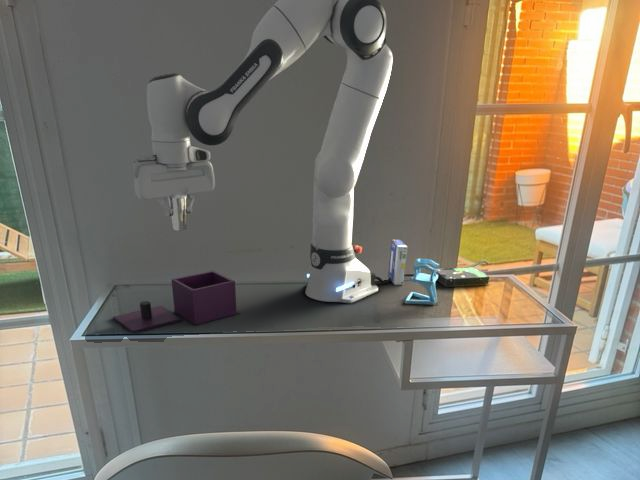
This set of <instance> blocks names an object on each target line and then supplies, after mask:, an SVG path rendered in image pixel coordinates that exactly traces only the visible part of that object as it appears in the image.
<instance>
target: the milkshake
mask: <svg viewBox="0 0 640 480" xmlns="http://www.w3.org/2000/svg"><path fill="white" fill-rule="evenodd" d="M188 189H189V188H188ZM187 192H188V190H187ZM187 199H188V198H187V193H186V195H185V194H181V193H180V194H176V195H175V196H172V197H167V200H168V207H170V208H172V209H173V216H170V217H171V222H172V228H173V231H179V232H182V231H186V230H187V213H186V206H187Z"/></svg>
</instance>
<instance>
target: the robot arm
mask: <svg viewBox="0 0 640 480" xmlns="http://www.w3.org/2000/svg"><path fill="white" fill-rule="evenodd" d="M386 32H387V13H386V11H385V8H384V6H383V4H382V2H381V1H380V0H277V1H276V2H275V3H274V4H273V5H272V6H271V7H270V9H269V10H268V11H267V12H266V13H265V14H264V15H263V16H262V18H261V20H260V21H259V23H258V24H257V25H256V27H255V29H254V30H253V32H252V36H251V41H250V46H249V50H248V51H247V53H246V55H245V57H244V58H243V60H242V61H241V62H240V63H239V65H237V67H236V68H235V69H234V70H233V71H232V72H231V73H230V74H229V76H228V77H226V79H225V80H223V82H222V83H221V84H220V85H219V86H218V87H216V88H215V89H213V90H211V91H210V90H207V89H204V88H201V87H200V86H197V85H195V84H193V83H192V82H190V81H189V80H187V79H186V78H184V77H183V76H182V75H181V74H180V73H177V72H176V73H175V72H174V73H166V74H165V73H164V74H160V75H157V76H154V77H153V78H151V79H150V80H149V82H148V83H147V85H146V86H147V87H146V106H147V107H146V108H147V115H148V121H149V123H150V127H151V135H150V136H151V137H150V140H151V148H152V155H146V156H144V155H142V156H141V155H140V156H137V157H136V158H135V159H134V160H133V161H132V163H131V168H132V169H131V170H132V174H133V187H134V188H133V189H134V195H135V196H136V197H137V198H138V199H139V200H142V201H149V200H155V199H157V201H158V203H159V204H160V206H161V207H162V208H163V213H164V216H165V217H171V216H173V209H172V208H170V206H169V204H168V202H169V200H168V197H172V196H175V195H176V194H180V193H181V194H185V195H186V193H187V206H186V214H192V213H193V205H194V202H195V199H196V194H201V193H209V192H213V191H214V189H215V187H216V180H215V172H214V167H213V165H212V162H210V160H211V152H210V151H209V150H207V149H203V148H200V147H197V146H196V145H192V144H191V136H192V137H193V138H194V139H195V140H196V141H198V142H199V143H201V144H202V145H206V146H217V145H220V144H224V142H226V141H227V140H228V138H229V137H230V136H231V134H232V132H233V130H234V128H235V125H236V122H237V119H238V116H239V115H240V113H241V112H242V110H243V109H244V108H245V107H246V106H247V104H249V102H251V101H252V100H253V98H254V97H256V95H257V94H258V93H259V92H260V91H261V89H262V88H263V87H264V86H265V85H266V84H267V83H268V82H269V81H270V80H272V79H273V78H274V77H276V76H277V75H279V74H280V73H282V72H283V71H285V70H286V69H287V68H289V67H291V66H292V65H293V64H294V63H295V62H296V61H297V60H299V58H301V57H302V56H303V54H305V53H306V51H308V49H309V48H310V47H312V45H313V44H314V43H315V42H316V41H317V40H319V39H321V38H322V37H323V38H324V39H325V40H326V41H327V42H329V43H330V44H333V45H335V46H337V47H338V48H341V49H343V50H345V52H346V66H345V71H344V74H343V76H342V79H341V83H340V85H339V88H338V92H337V94H336V98H335V101H334V104H333V107H332V110H331V113H330V117H329V120H328V123H327V127H326V131H325V135H324V137H323V141H322V144H321V148H320V151H319V152H318V154H317V155H316V157H315V160H314V162H313V163H314V164H313V194H312V195H313V196H312V197H313V200H312V230H311V231H312V232H311V233H312V234H311V235H312V238H311V240H312V241H311V244H310V248H309V249H310V250H309V258H310V266H309V273H307V274H306V277H307V278H308V280H307V285H306V288H305V291H304V294H305V295H306V296H307V297H308V298H310V299H313V300H316V301H321V302H328V303H344V304H352V303H355V302H357V301H359V300H362V299H363V298H366V297H367V296H370V295H372V294H375V293H377V292H378V291H379V287H378V285H376V280H378V282H380V284H388V283H390V282H392V281H391V277H390V278H389V277H388V279H386V280H383V279H382V278H381V277H380V276H376V273H374V272H371V271H370V269H369V268H368V266H366V265H365V264H363V263H362V262H361V261H360V260H359V259H357V257H356V254H359V255H360V254H361V253H362V252H363V247H362V246H360V245H357V244H356V245H353V244H352V240H353V225H354V223H353V222H354V192H355V189H354V188H355V187H356V183H357V181H358V178H359V176H360V171H361V169H362V165H363V163H364V159H365V155H366V152H367V148H368V146H369V142H370V138H371V134H372V131H373V129H374V126H375V123H376V120H377V117H378V115H379V111H380V109H381V106H382V103H383V100H384V97H385V94H386V92H387V89H388V85H389V81H390V77H391V72H392V67H393V61H394V55H393V52H392V50H391V49H390V47H389V46H388V45H387V44H386V43H387V35H386ZM188 188H189V189H188ZM187 190H188V192H187ZM355 253H356V254H355ZM484 263H485V264H486V265H490V262H489V261H488V260H486V259H482V260H480V261H478V262H476V263H474V264H471V265H468V266H467V267H470V268H472V267H473V268H476V267H477V266H480V265H481V264H484ZM422 273H423V272H422ZM431 273H432V272H424V273H423V274H429V275H431ZM413 276H414V273H404V278H405V277H413Z"/></svg>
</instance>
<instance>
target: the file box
mask: <svg viewBox="0 0 640 480" xmlns="http://www.w3.org/2000/svg"><path fill="white" fill-rule="evenodd" d="M171 288H172V299H173V300H172V301H173V307H174V313H175V314H177V315H179V316H181V317H182V318H183V319H185V320H187V321H189V322H190V323H192V324H193V325H199V324H203V323H206V322H210V321H215V320H219V319H222V318H226V317H230V316H234V315H237V292H236V281H235V280H234V279H231V278H229V277H227V276H225V275H223V274H222V273H219V272H217V271H215V270H209V271H204V272H200V273H194V274H190V275H185V276H182V277H176V278H171Z"/></svg>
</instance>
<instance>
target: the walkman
mask: <svg viewBox="0 0 640 480" xmlns="http://www.w3.org/2000/svg"><path fill="white" fill-rule="evenodd" d="M407 253H408V246H407V245H406V244H405V243H404V242H403V241H402V240H401V239H391V240H390V251H389V261H388V272H387V278H388V279H389V278H390V277H391V281H390V282H392V284H393V285H394V286H403V285H404V281H405V277H404V274H406V273H405V271H406V263H407Z"/></svg>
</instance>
